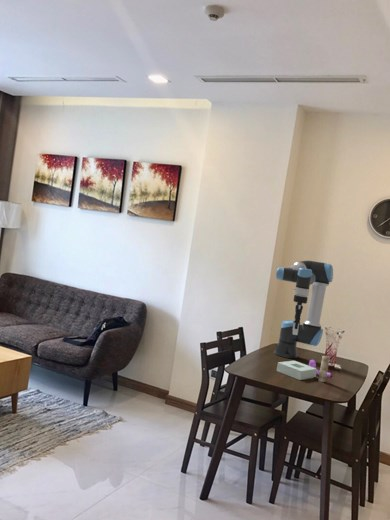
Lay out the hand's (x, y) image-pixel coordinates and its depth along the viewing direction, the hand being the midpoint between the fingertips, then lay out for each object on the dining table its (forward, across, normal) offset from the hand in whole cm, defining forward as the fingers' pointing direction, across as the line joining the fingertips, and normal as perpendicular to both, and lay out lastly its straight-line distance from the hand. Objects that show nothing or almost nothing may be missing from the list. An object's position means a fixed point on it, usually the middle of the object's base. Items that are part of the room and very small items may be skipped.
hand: (294, 332), depth 271 cm
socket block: (+24, -4, +5) cm, 25 cm away
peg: (+24, 0, +19) cm, 31 cm away
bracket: (+24, -17, +18) cm, 35 cm away
